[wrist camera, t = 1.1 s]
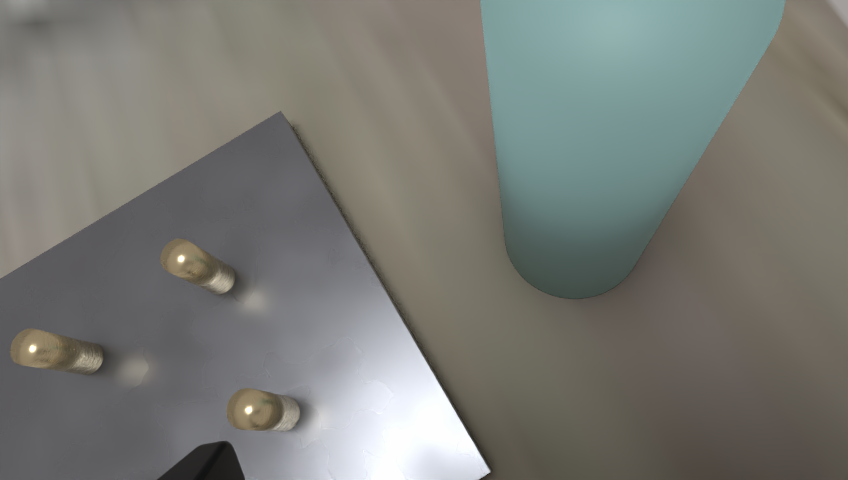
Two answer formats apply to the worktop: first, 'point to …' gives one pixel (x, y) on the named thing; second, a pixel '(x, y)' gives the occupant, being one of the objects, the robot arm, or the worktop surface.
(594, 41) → the post
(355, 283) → the metal base plate
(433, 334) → the worktop surface
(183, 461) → the robot arm
